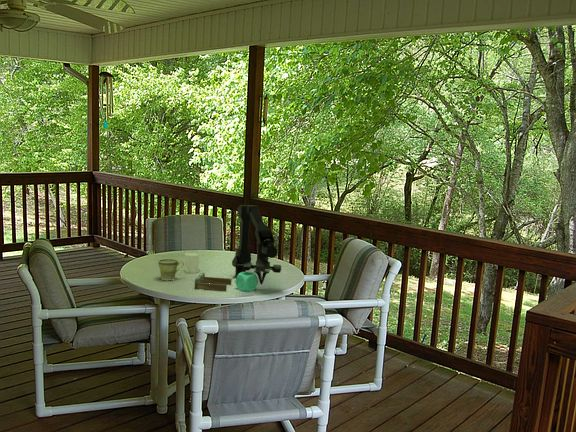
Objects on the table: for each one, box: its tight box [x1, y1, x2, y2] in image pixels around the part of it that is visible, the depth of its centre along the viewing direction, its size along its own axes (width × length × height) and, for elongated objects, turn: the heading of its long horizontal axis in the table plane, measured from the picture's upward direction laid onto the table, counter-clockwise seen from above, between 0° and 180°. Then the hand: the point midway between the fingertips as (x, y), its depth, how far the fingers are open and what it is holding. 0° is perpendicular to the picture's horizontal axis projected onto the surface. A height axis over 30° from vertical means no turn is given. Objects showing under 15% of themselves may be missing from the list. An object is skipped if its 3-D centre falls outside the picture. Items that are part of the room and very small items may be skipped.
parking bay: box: [194, 272, 232, 292], centre depth 277 cm, size 14×16×5 cm
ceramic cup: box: [157, 258, 185, 281], centre depth 287 cm, size 13×10×10 cm
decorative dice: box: [235, 271, 259, 292], centre depth 276 cm, size 8×8×8 cm
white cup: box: [184, 252, 200, 274], centre depth 305 cm, size 8×8×10 cm
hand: (261, 284), depth 275 cm, fingers closed
